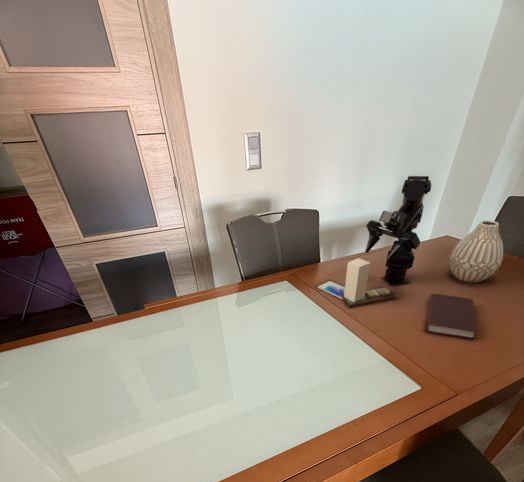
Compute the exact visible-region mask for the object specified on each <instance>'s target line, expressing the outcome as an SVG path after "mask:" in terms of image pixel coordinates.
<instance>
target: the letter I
mask: <svg viewBox="0 0 524 482" xmlns="http://www.w3.org/2000/svg"><path fill="white" fill-rule="evenodd" d="M370 267H371V262H369V261H367V260H365V259H362V258H359V257H358V258H355V259H352V260H350V261H348V262H347V267H346V276H345V284H344V287H345V292H344V297H345V298H347V299H349V300H351V301H353V302H356V301H358V300H360V299H363V298H365V292H366V289H367V285H368V279H369V272H370Z"/></svg>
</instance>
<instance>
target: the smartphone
mask: <svg viewBox="0 0 524 482" xmlns="http://www.w3.org/2000/svg"><path fill="white" fill-rule="evenodd" d="M317 289H319V290H321V291H323V292H325V293H327V294H329V295H332V296H334V297H335V298H338V299H341V300H343V298H342V297H341V296H340V294H344V292H345V285H344V286H343V285H341V284H339V283H336V282H334V281H332V280H328V281H326V282H323V283H321V284H319V285H317Z"/></svg>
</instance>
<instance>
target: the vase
mask: <svg viewBox="0 0 524 482" xmlns="http://www.w3.org/2000/svg"><path fill="white" fill-rule="evenodd" d="M499 229H500V224H499V222H497V221H495V220H481V221H479V222H478V224H477V225H476V227H475V228H474V229H473V230H472V231H470V232H469V233H468V234H467V235H464V237H463V238H461V240H460V241H459V242H458V243H457V244H456V245H455V247H454V248H453V249H452V252H451V253H450V256H449V259H448V260H449V261H448V265H449V270H450V272H451V274H452V275H453V277H454V278H456V279H457V280H458V281H461V282H465V283H471V284H472V283H473V284H475V283H479V282H482V281H485V280H488V279H489V278H490V277H492V276H493V275H494V274H495V273H496V272H497V271H498V269H499V268H500V267H501V265H502V263H503V260H504V251H505V250H504V243H503V240H502V238H501V237H502V236H501V235H500V232H499V231H500V230H499Z"/></svg>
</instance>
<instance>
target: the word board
mask: <svg viewBox="0 0 524 482" xmlns="http://www.w3.org/2000/svg"><path fill="white" fill-rule="evenodd" d="M340 296H341V297H342V298H343V299H342V301H344V303H345V304H346V305H347V307H348V308H353V307H359V306H364V305H369V304H375V303H382V302H385V301H391V300H395V299H396V296H395V295H394V294H393V293H392V292H391V291H390V290H389V289H388V288H387V287H385V286H383V285H382V286H377V287H372V288H371V287H370V288H366V292H365V298H363V299H360V300H358V301H356V302H353V301H351V300H349V299H347V298H345V297H344V294H340Z"/></svg>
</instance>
